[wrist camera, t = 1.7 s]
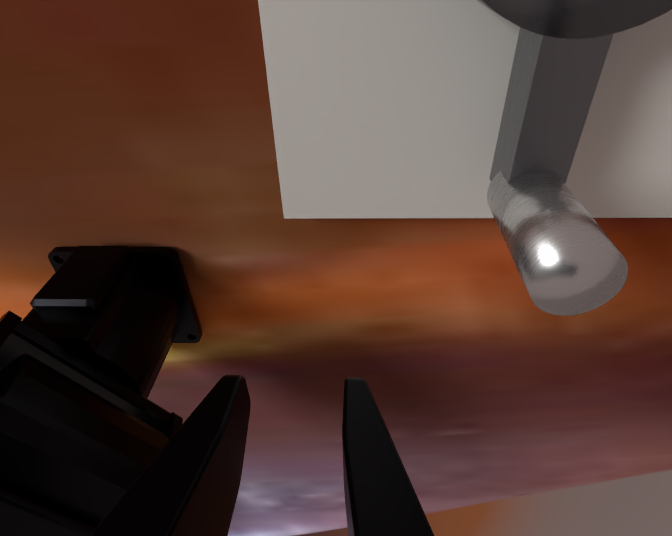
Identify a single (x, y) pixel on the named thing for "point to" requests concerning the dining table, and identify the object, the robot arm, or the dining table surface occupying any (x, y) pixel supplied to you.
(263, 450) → the dining table surface
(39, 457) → the robot arm
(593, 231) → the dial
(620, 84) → the stand board
